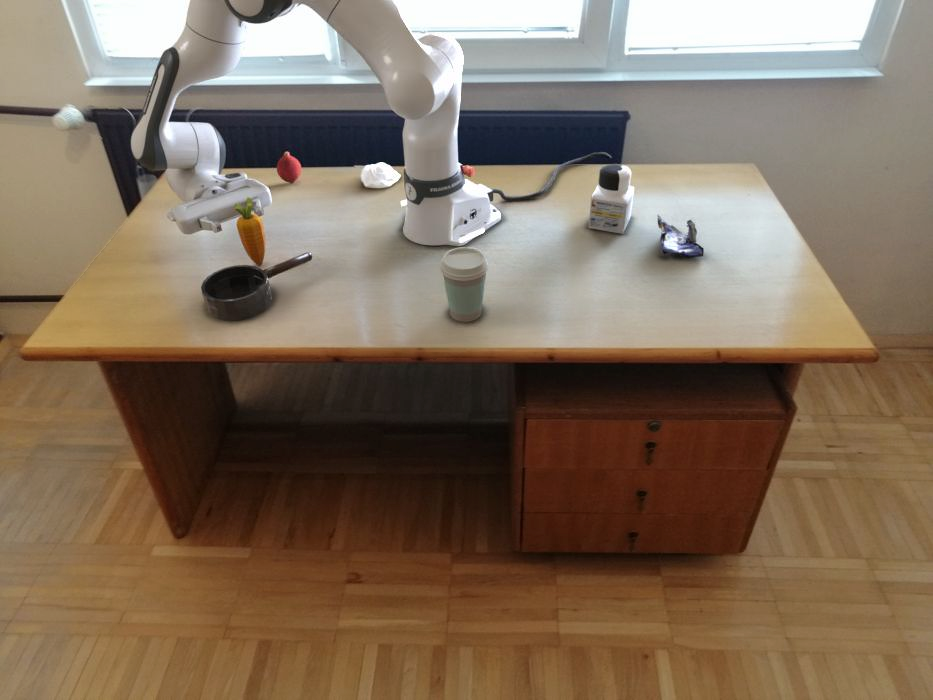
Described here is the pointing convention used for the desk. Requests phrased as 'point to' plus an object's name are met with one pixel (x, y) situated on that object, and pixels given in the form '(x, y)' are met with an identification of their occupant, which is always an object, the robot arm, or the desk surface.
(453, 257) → the coffee cup
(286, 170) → the onion
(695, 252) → the snack package
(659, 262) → the desk surface
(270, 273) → the pan handle
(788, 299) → the desk surface
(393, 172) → the white lumpy piece
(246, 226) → the carrot
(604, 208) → the container
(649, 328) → the desk surface
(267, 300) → the pan
